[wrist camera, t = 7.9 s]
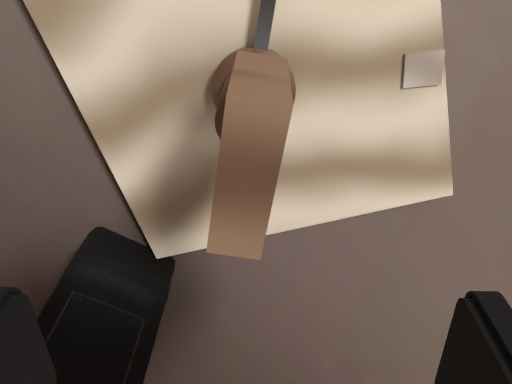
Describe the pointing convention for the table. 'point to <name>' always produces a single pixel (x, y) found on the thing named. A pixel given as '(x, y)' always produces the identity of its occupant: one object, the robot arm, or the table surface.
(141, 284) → the portable radio
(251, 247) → the tuning peg
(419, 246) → the table surface
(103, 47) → the dial board
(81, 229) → the table surface
